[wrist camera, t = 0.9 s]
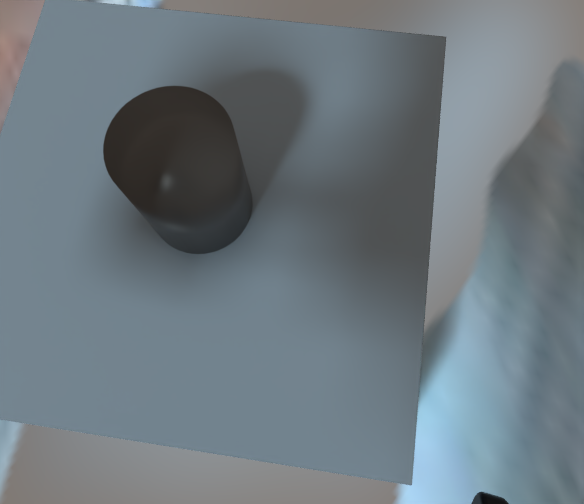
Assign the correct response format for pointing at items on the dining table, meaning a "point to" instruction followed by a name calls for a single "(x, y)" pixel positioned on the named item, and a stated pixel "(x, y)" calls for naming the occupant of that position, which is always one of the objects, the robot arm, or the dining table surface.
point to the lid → (220, 234)
